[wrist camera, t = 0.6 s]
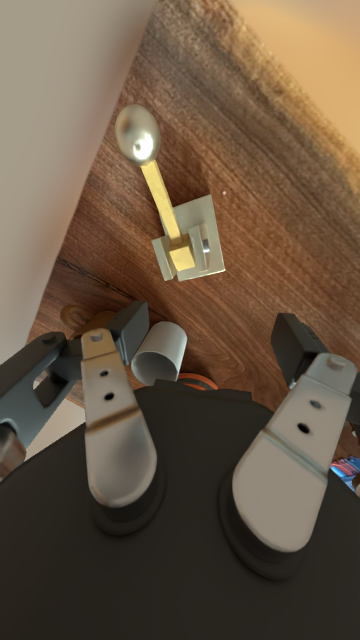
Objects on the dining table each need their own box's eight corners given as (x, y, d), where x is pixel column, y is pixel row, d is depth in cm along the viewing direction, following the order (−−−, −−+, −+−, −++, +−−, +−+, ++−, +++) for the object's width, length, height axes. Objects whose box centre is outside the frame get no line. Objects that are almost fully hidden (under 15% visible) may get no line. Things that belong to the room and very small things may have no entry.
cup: (194, 341, 40) (188, 376, 31) (168, 359, 44) (155, 394, 35) (167, 313, 38) (152, 342, 29) (141, 334, 42) (121, 365, 33)
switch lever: (111, 113, 14) (99, 123, 12) (151, 90, 13) (144, 97, 11) (174, 257, 24) (173, 274, 22) (199, 250, 23) (200, 268, 21)
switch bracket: (160, 212, 30) (125, 209, 19) (211, 194, 27) (205, 178, 16) (180, 279, 34) (161, 309, 23) (224, 268, 32) (227, 296, 21)
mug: (76, 300, 40) (40, 320, 32) (101, 284, 38) (69, 303, 29) (110, 343, 44) (86, 371, 36) (135, 332, 42) (115, 360, 33)
